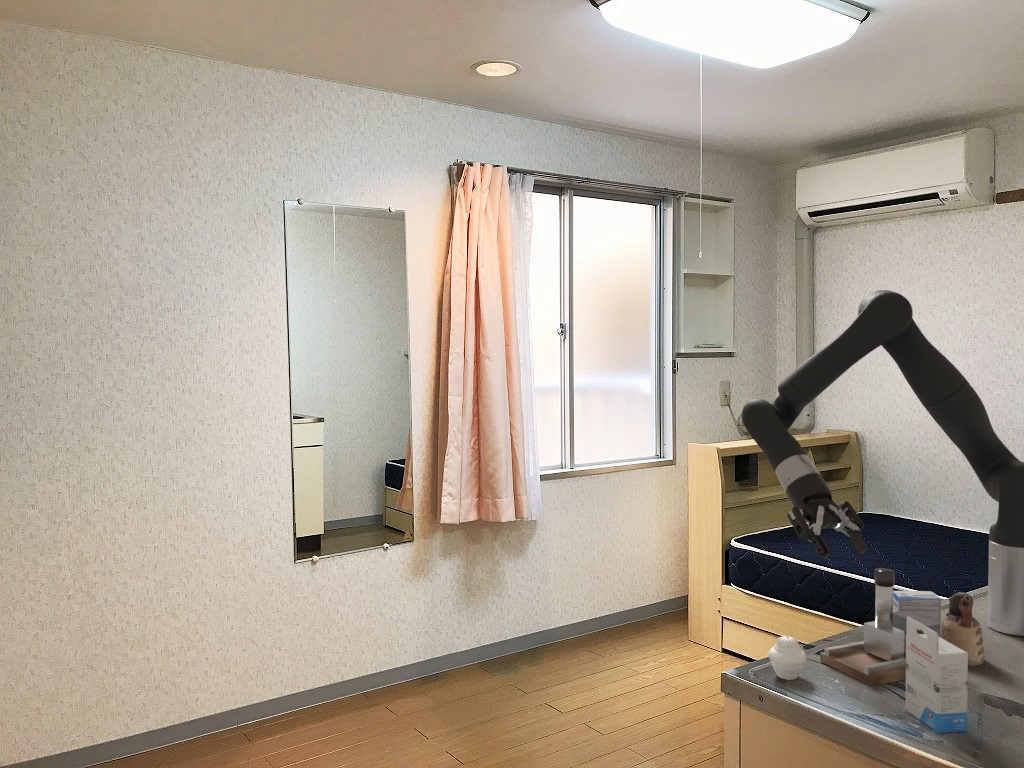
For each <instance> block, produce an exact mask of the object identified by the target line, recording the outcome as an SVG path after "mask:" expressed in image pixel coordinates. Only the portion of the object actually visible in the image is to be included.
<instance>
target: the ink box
mask: <svg viewBox="0 0 1024 768" xmlns="http://www.w3.org/2000/svg"><path fill="white" fill-rule="evenodd" d="M917 629H918V630H922V631H923V633H925V634H918V633H917ZM968 668H969V667H968V653H967V652H965V651H963V650H962V649H960V648H958V647H956V646H954V645H953V644H951V643H949V642H947V641H946V640H944V639H942V638H940V637H939V636H938V633H937V632H935V631H933V630H931V629H930V628H928V627H926V626H925V625H923V624H921V623H920V622H918V621H916V620H914V619H912V618H910V617H907V635H906V680H905V710H906V711H908V713H910V714H911V715H913V717H915V718H917V719H918V720H919V721H920V722H921V723H923V724H924V725H925V726H927V727H928V728H929V729H931V730H932V731H934V732H935V733H937V734H942V733H943V734H944V733H945V734H946V733H958V732H959V733H960V732H967V730H968V686H969V685H968V678H969V677H968V676H969V673H968V671H969V670H968Z"/></svg>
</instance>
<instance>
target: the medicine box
mask: <svg viewBox="0 0 1024 768" xmlns="http://www.w3.org/2000/svg"><path fill="white" fill-rule="evenodd" d="M898 611H906V612H909V613H912V614H914V615H917V616H920V617H923V618H926V619H928V620H931V621H934V622H937V623H940V624H941V625H942V623H941V622H942V598H941V597H940V596H939V595H938V594H936V593H935V592H933V591H929V590H927V591H924V590H893V612H898ZM940 638H941V629H940Z"/></svg>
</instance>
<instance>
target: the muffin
mask: <svg viewBox="0 0 1024 768" xmlns="http://www.w3.org/2000/svg"><path fill="white" fill-rule="evenodd" d="M768 658H769V660H770V664H771V666H772V668H773V670H774V672H775V673H776V676H777V677H778V678H780V679H782V680H788V681H793V680H796V679H797V678H798V677H799V675H800V674H801V672H802V670H803V669H804V667H805V663H806V662H807V654H806V653H805V652H804V650H802V649H801V647H800V646H799V641H798V640H797V639H796V638H795V637H792V636H789V635H784V636H779V637H778V638H777V639H776V643H775V644H774V646H772V647H771V648H770V649H769V651H768Z"/></svg>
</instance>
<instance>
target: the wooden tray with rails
mask: <svg viewBox="0 0 1024 768" xmlns="http://www.w3.org/2000/svg"><path fill="white" fill-rule="evenodd" d="M819 655H820V656H819V657H820V660H819V661H820V662H821V663H823V664H825V665H827V666H829V667H831V668H834V669H836V670H837V671H840V672H842V673H844V674H847V675H848V676H851V678H852V677H853V678H854V679H856V680H859V681H861V682H863V683H865V684H866V685H869V686H870V687H877V686H881V685H886V684H891V683H896V682H900V681H906V668H901V669H897V670H892V671H887V672H882V673H877V674H872V675H866V674H864V666H867V665H872V664H877V663H882V662H887V660H884V659H882V658H880V657H877V656H875V655H873V654H871V653H868V652H866V651H864V650H862V651H856V652H851V653H846V654H840V655H835V656H830V657H828V656H826V655H825V651H824V652H820V654H819ZM904 658H906V635H905V634H904Z"/></svg>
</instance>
